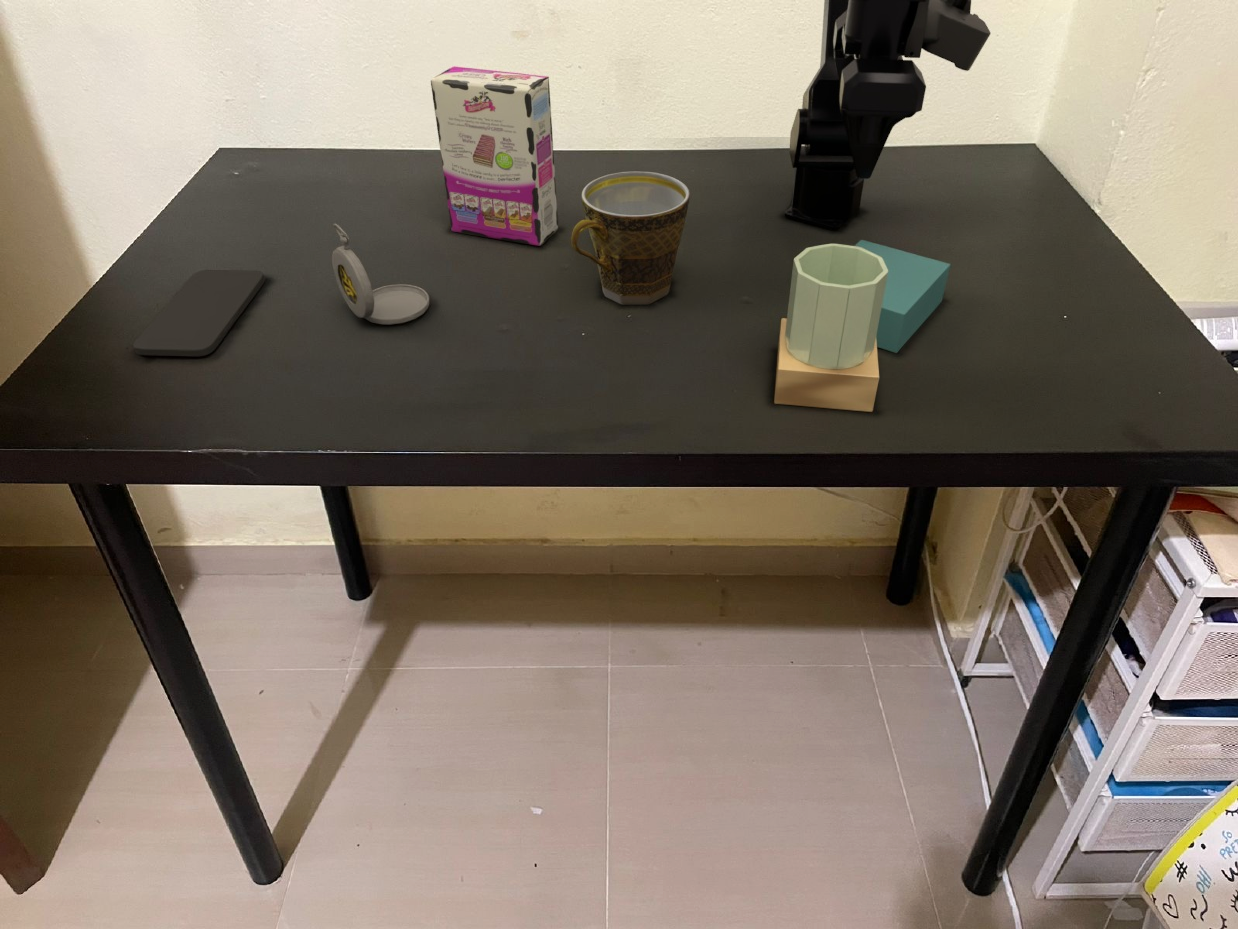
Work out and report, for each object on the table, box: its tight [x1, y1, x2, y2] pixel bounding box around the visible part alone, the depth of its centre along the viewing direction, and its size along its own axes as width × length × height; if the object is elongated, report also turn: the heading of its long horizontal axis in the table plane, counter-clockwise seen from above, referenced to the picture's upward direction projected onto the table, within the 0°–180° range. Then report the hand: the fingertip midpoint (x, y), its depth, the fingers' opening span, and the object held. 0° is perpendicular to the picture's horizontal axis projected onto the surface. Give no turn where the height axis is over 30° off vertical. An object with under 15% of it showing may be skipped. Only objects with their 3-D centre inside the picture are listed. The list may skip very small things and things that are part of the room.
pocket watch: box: [331, 222, 430, 326], centre depth 87 cm, size 8×8×10 cm
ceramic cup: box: [570, 171, 691, 306], centre depth 89 cm, size 13×10×10 cm
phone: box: [132, 269, 266, 357], centre depth 90 cm, size 7×1×15 cm
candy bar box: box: [430, 66, 559, 247], centre depth 98 cm, size 11×5×16 cm, turn 68°
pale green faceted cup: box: [785, 243, 888, 369], centre depth 76 cm, size 7×7×8 cm
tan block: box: [773, 317, 880, 413], centre depth 80 cm, size 8×8×4 cm
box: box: [854, 239, 951, 354], centre depth 88 cm, size 9×11×4 cm
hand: (860, 156), depth 85 cm, fingers open, 9 cm apart
